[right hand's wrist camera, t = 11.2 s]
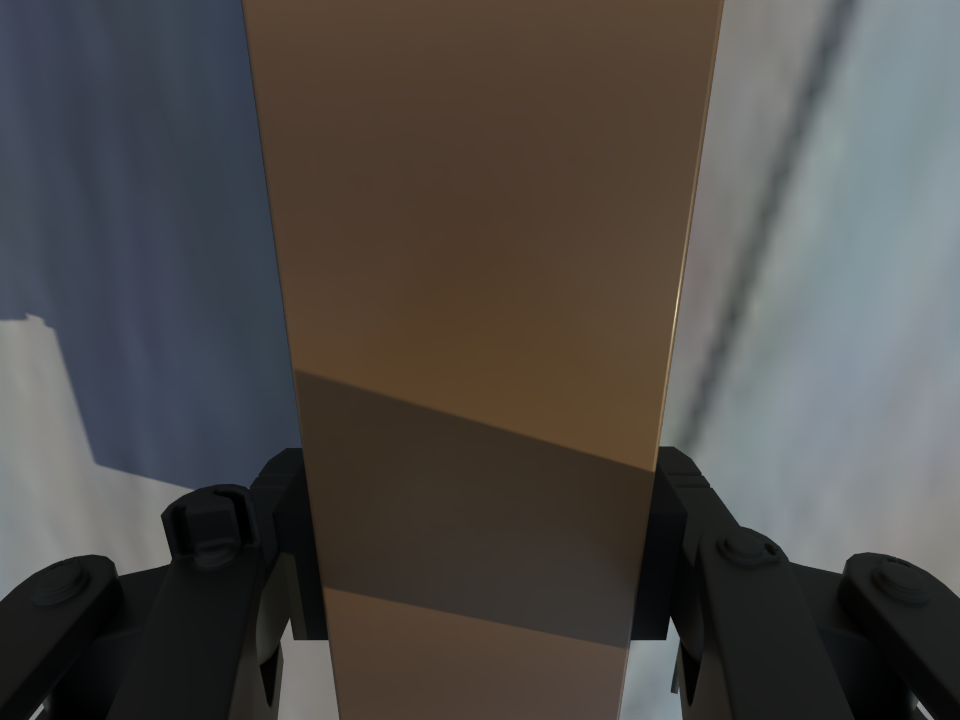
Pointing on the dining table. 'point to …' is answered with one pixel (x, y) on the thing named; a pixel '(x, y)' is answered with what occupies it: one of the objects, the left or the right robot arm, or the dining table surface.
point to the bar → (481, 327)
